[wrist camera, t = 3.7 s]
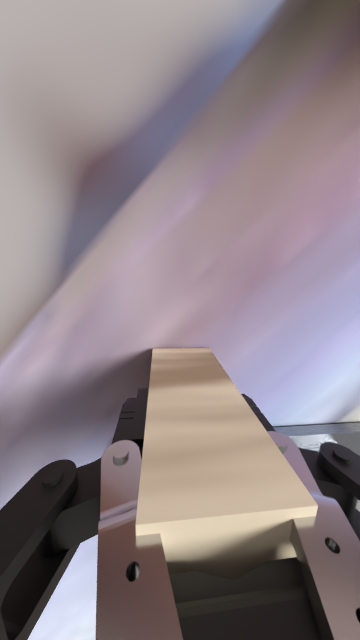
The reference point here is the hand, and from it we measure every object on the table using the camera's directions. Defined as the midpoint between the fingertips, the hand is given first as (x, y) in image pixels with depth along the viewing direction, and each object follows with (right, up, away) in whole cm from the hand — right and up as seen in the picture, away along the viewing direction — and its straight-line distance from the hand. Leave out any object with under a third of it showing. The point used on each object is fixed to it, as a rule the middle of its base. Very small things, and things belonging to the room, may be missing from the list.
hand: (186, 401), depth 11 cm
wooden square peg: (0, +1, +3) cm, 3 cm away
